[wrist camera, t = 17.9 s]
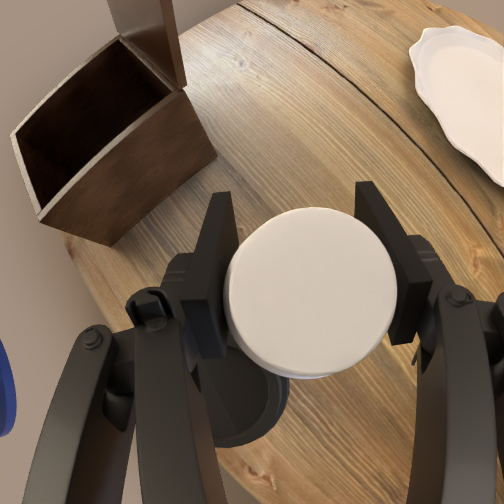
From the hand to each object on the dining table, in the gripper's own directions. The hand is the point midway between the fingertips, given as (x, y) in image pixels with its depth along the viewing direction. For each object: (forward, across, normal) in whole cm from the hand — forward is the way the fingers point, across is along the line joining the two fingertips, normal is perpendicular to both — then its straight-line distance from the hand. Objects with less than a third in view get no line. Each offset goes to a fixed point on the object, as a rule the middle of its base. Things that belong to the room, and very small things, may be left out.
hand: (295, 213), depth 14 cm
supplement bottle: (0, 0, -5) cm, 5 cm away
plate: (+28, +33, +1) cm, 43 cm away
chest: (+23, -18, -4) cm, 30 cm away
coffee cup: (+7, -5, -20) cm, 22 cm away
